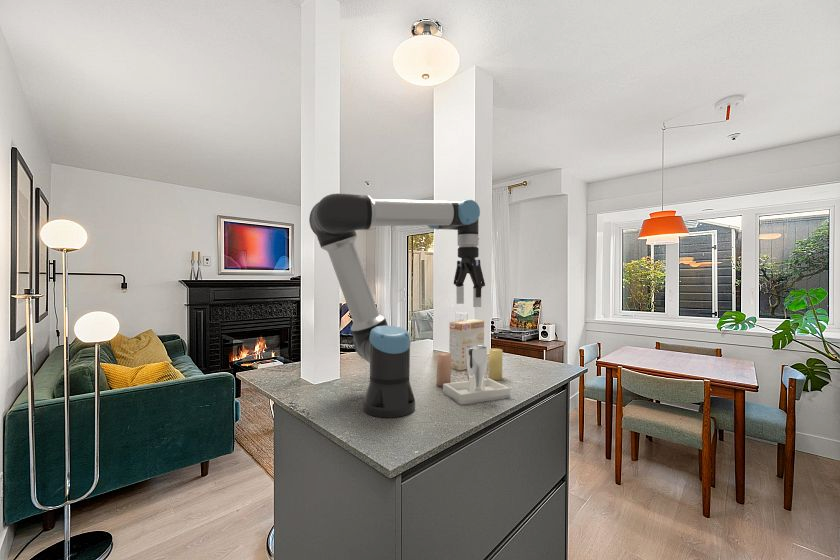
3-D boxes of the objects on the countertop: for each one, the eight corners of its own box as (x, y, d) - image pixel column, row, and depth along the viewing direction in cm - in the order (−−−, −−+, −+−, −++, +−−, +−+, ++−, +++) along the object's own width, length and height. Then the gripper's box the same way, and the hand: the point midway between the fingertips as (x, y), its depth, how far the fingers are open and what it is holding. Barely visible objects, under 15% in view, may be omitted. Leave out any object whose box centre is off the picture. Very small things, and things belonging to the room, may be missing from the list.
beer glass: (480, 397, 116) (481, 350, 116) (461, 393, 121) (462, 347, 120) (490, 392, 122) (491, 346, 122) (471, 388, 126) (472, 344, 126)
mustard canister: (493, 381, 138) (493, 351, 138) (486, 377, 142) (486, 348, 142) (504, 379, 140) (505, 350, 139) (497, 376, 144) (497, 347, 144)
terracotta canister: (439, 387, 129) (440, 356, 129) (434, 382, 134) (435, 352, 134) (452, 386, 131) (453, 355, 130) (447, 381, 136) (448, 352, 135)
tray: (460, 404, 113) (460, 394, 113) (443, 392, 124) (443, 383, 124) (509, 397, 119) (510, 388, 119) (489, 386, 131) (489, 378, 131)
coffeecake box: (472, 362, 167) (472, 318, 166) (484, 365, 161) (485, 320, 161) (448, 367, 157) (448, 321, 157) (460, 370, 152) (461, 323, 151)
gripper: (495, 244, 124) (495, 308, 125) (462, 248, 148) (462, 302, 148) (475, 244, 122) (475, 308, 122) (444, 248, 145) (445, 302, 146)
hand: (468, 305), depth 135 cm, fingers open, 13 cm apart
